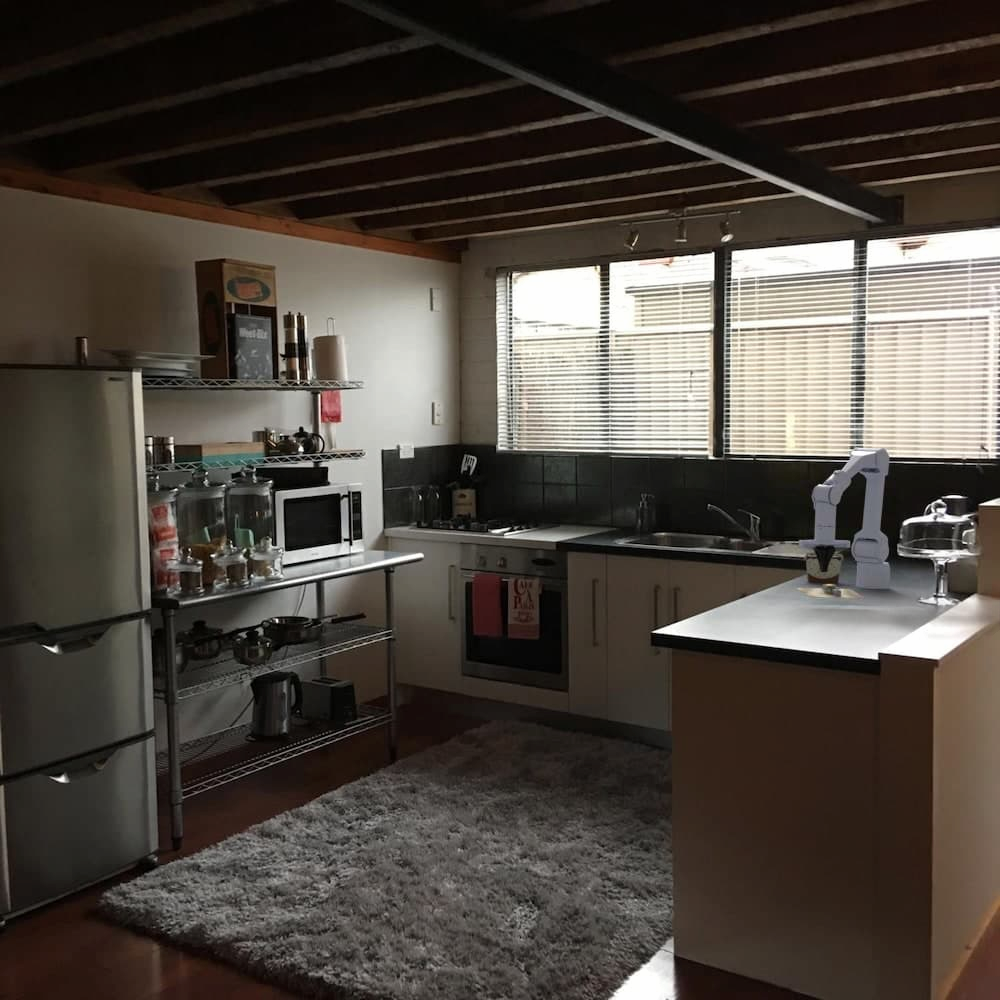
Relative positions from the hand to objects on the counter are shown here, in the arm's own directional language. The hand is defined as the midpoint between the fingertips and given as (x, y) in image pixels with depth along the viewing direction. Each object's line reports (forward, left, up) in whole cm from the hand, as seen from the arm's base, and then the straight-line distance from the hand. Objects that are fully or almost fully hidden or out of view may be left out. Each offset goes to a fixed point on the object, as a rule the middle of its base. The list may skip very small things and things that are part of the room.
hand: (823, 571), depth 317 cm
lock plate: (-3, -5, -8) cm, 10 cm away
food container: (-6, -28, -8) cm, 30 cm away
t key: (-4, -5, -7) cm, 9 cm away
